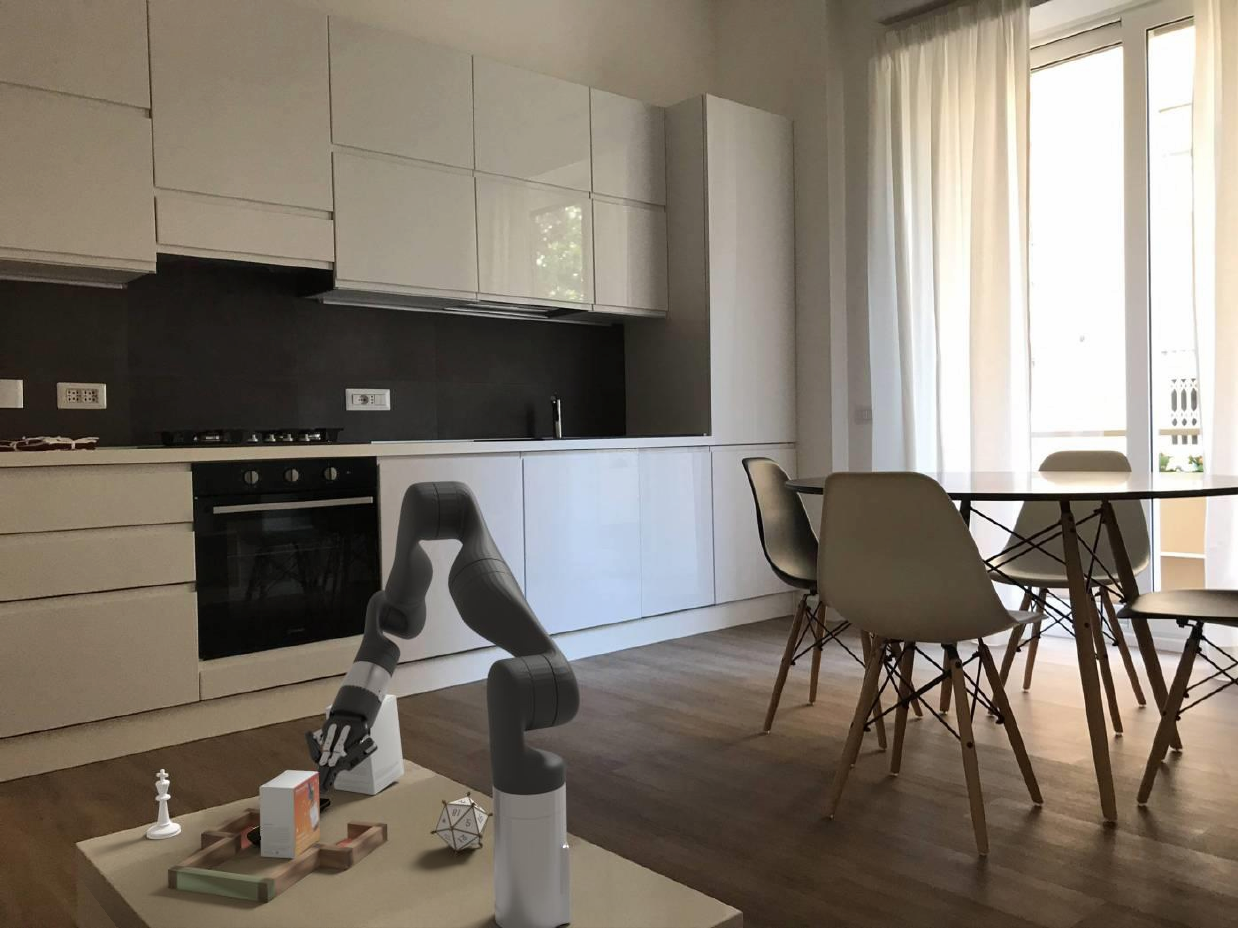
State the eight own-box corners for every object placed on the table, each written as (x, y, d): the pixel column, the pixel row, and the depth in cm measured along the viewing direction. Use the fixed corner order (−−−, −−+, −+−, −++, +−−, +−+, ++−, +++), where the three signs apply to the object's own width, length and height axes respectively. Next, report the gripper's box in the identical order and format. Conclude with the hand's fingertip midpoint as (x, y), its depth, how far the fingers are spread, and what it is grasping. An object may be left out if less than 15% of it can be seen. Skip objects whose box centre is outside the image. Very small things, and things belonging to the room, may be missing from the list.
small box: (294, 860, 150) (293, 788, 149) (259, 857, 151) (258, 786, 150) (321, 838, 157) (319, 770, 157) (287, 836, 159) (286, 768, 158)
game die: (451, 877, 152) (409, 829, 150) (471, 837, 159) (431, 791, 157) (495, 857, 148) (452, 808, 146) (513, 816, 156) (472, 769, 154)
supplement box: (406, 774, 184) (398, 693, 182) (374, 796, 176) (366, 712, 174) (365, 767, 188) (357, 689, 186) (332, 789, 180) (323, 707, 178)
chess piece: (169, 840, 158) (167, 775, 157) (139, 838, 158) (138, 774, 158) (187, 827, 163) (185, 765, 162) (158, 826, 163) (157, 764, 163)
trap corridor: (248, 823, 164) (248, 807, 164) (387, 839, 157) (387, 823, 156) (141, 883, 142) (141, 865, 142) (297, 906, 135) (296, 887, 135)
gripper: (317, 680, 172) (273, 775, 161) (387, 686, 168) (346, 784, 157) (335, 703, 178) (293, 797, 166) (404, 710, 174) (365, 807, 162)
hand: (319, 791), depth 162 cm, fingers closed
